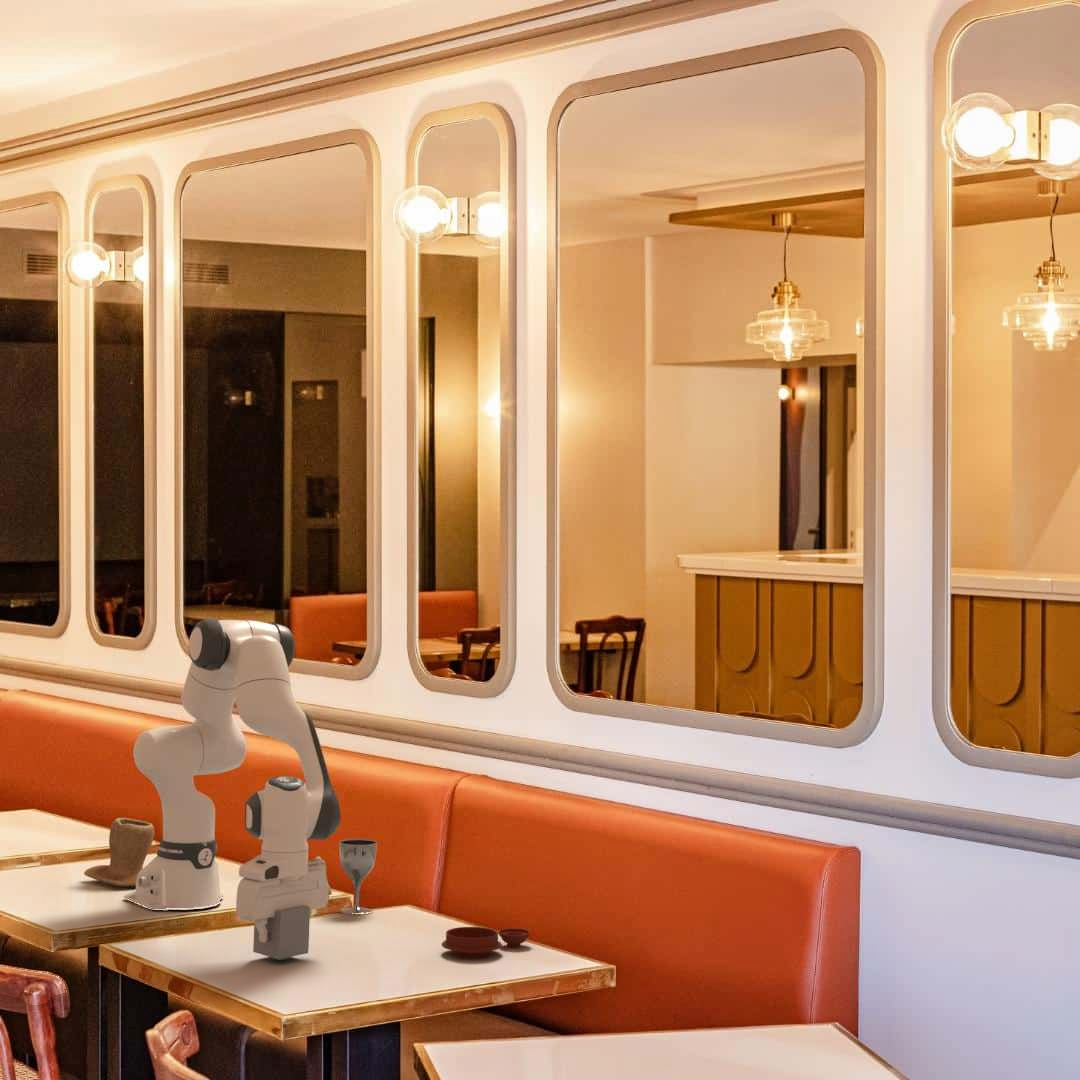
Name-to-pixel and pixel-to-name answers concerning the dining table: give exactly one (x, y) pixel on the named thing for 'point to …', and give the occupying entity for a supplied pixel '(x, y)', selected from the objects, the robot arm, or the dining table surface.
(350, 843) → the wine glass
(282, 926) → the grey matte cube
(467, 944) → the pottery
